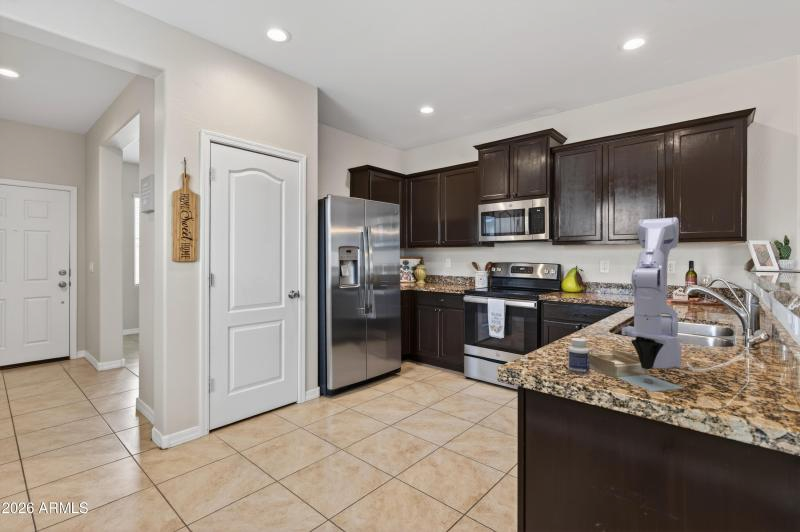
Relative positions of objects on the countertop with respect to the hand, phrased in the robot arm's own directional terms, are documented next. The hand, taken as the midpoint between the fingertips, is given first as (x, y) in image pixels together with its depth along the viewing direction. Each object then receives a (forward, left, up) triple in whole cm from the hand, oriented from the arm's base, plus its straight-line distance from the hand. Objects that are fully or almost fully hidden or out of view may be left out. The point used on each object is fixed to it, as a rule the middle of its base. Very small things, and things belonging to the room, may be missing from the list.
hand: (647, 368), depth 97 cm
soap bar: (0, -11, -3) cm, 12 cm away
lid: (0, 0, -5) cm, 5 cm away
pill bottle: (+10, -12, -4) cm, 17 cm away
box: (0, -11, -4) cm, 12 cm away
